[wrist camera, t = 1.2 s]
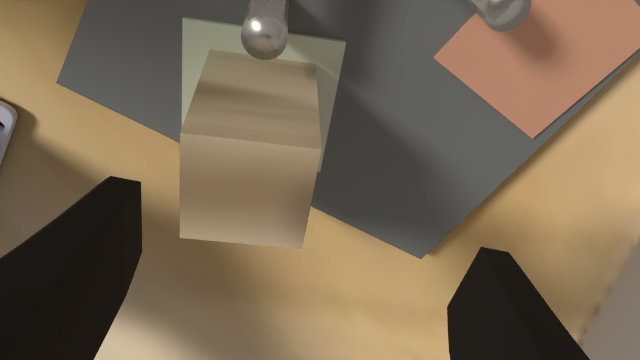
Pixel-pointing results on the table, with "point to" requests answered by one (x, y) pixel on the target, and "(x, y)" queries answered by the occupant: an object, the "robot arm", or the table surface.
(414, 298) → the table surface
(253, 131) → the birch block
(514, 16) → the bent wire
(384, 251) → the table surface
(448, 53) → the board
